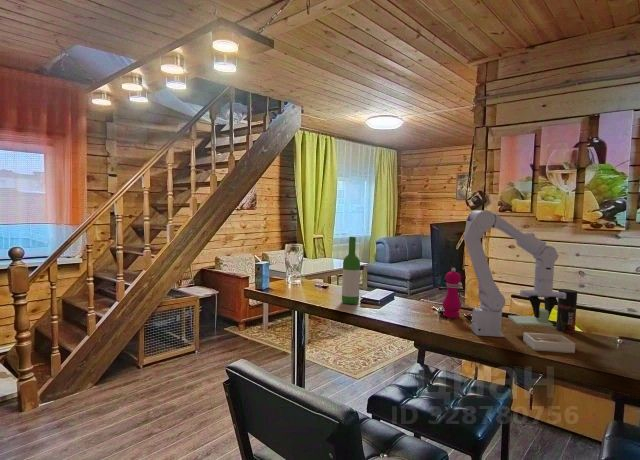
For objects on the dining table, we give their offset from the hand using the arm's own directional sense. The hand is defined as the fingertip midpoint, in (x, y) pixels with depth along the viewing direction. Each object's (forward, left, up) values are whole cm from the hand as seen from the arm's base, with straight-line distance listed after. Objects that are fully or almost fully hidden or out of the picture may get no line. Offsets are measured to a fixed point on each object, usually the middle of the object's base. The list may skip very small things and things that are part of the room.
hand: (541, 317), depth 142 cm
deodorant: (+12, +9, -7) cm, 17 cm away
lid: (-4, 0, -2) cm, 4 cm away
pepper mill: (-27, +20, -7) cm, 34 cm away
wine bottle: (-69, +33, -7) cm, 76 cm away
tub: (-3, -12, -6) cm, 14 cm away
